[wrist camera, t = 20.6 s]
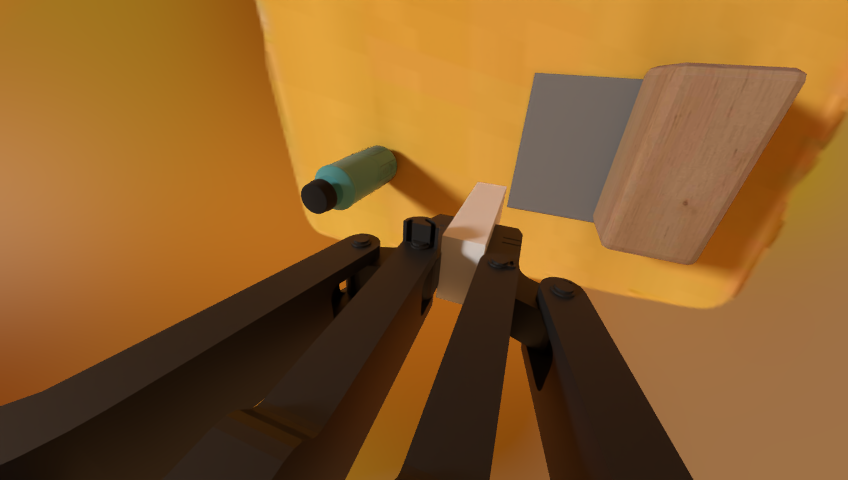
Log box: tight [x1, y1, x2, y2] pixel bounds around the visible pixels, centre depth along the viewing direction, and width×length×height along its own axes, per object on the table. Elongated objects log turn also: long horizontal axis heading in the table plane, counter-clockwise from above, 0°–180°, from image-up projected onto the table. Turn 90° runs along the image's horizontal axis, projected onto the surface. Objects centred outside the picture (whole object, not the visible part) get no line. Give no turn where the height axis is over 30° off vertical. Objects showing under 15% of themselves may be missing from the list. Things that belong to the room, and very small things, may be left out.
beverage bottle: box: [301, 145, 397, 214], centre depth 44 cm, size 6×7×20 cm
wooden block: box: [593, 63, 807, 265], centre depth 35 cm, size 10×10×20 cm
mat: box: [507, 73, 643, 222], centre depth 41 cm, size 19×22×1 cm
